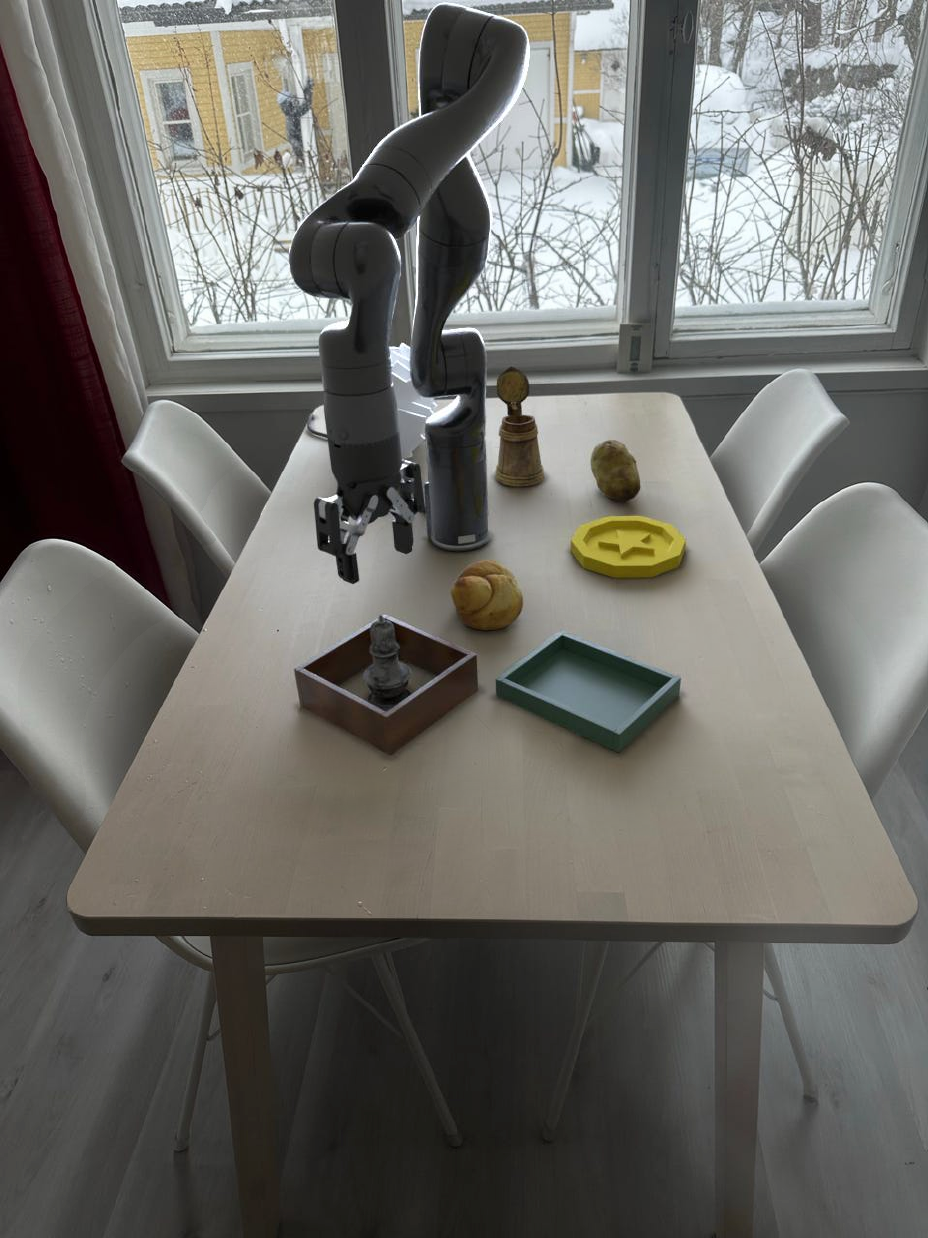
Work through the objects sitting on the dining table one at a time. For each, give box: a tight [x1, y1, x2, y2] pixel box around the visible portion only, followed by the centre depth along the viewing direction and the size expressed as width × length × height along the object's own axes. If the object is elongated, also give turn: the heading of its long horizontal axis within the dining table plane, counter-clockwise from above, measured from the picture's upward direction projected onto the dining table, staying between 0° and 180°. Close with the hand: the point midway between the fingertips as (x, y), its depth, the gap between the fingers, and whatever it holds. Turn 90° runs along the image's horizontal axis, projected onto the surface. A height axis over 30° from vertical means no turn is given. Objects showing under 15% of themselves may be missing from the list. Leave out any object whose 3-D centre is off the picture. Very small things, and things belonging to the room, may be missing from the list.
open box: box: [293, 614, 479, 757], centre depth 112 cm, size 16×16×6 cm
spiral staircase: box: [390, 342, 438, 460], centre depth 182 cm, size 18×18×25 cm
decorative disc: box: [570, 515, 687, 579], centre depth 143 cm, size 17×18×2 cm
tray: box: [495, 630, 682, 753], centre depth 112 cm, size 18×14×3 cm
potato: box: [589, 439, 642, 502], centre depth 161 cm, size 8×13×8 cm, turn 175°
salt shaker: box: [362, 614, 412, 712], centre depth 111 cm, size 6×6×12 cm
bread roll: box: [450, 559, 524, 631], centre depth 128 cm, size 13×10×8 cm
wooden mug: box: [494, 366, 545, 487], centre depth 167 cm, size 9×14×18 cm, turn 6°
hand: (377, 566), depth 104 cm, fingers open, 8 cm apart
